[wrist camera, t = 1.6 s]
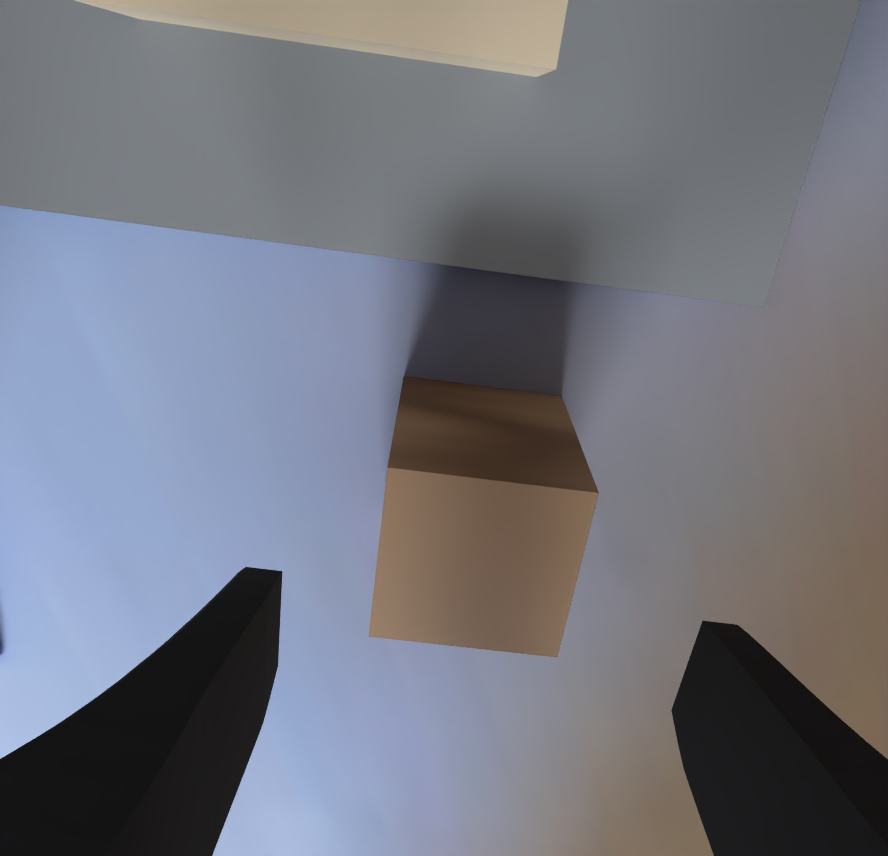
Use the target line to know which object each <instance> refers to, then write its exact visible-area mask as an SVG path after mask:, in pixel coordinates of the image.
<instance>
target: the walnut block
mask: <svg viewBox="0 0 888 856" xmlns="http://www.w3.org/2000/svg"><path fill="white" fill-rule="evenodd" d="M598 494H599V493H598V490H597V487H596V485H595V482H594V479H593V477H592V474H591V472H590V469H589V466H588V464H587V461H586V459H585V456H584V453H583V451H582V448H581V445H580V443H579V440H578V438H577V435H576V432H575V430H574V427H573V425H572V422H571V419H570V417H569V414H568V412H567V409H566V406H565V404H564V401H563V398H562V396H555V395H547V394H539V393H532V392H524V391H516V390H508V389H500V388H492V387H485V386H477V385H469V384H461V383H453V382H446V381H438V380H430V379H422V378H414V377H406V376H404V378H403V384H402V390H401V395H400V401H399V406H398V412H397V418H396V423H395V429H394V435H393V440H392V446H391V451H390V457H389V463H388V469H387V478H386V487H385V496H384V505H383V514H382V522H381V531H380V540H379V549H378V558H377V567H376V576H375V585H374V594H373V603H372V612H371V621H370V630H369V637H378V638H387V639H396V640H405V641H414V642H423V643H432V644H441V645H450V646H459V647H468V648H477V649H486V650H495V651H504V652H513V653H522V654H531V655H541V656H550V657H558V653H559V649H560V645H561V641H562V637H563V633H564V629H565V625H566V621H567V617H568V613H569V609H570V605H571V601H572V597H573V593H574V589H575V585H576V581H577V577H578V573H579V569H580V565H581V561H582V557H583V553H584V550H585V546H586V542H587V538H588V534H589V530H590V526H591V522H592V518H593V514H594V510H595V506H596V502H597V498H598Z"/></svg>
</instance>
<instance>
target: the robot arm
mask: <svg viewBox="0 0 888 856" xmlns="http://www.w3.org/2000/svg"><path fill="white" fill-rule="evenodd" d="M281 587H282V571H275V570H267V569H258V568H250V567H245V568H244V569H242V570H241V571H240V572H238V573H237V575H236V576H235V577H234V578H233V579H232V580H231V581H230V582H229V583H228V584H227V585H226V586H225V587H224V588H223V589H222V590H221V591H220V592H219V593H218V594H217V595H216V596H215V597H214V598H213V599H212V600H211V601H210V602H209V603H208V604H207V605H206V606H204V607H203V608H202V609H201V610H200V611H199V612H198V613H197V614H196V615H195V616H194V617H193V618H192V619H191V620H190V621H189V622H187V623H186V624H185V625H184V626H183V627H182V628H181V629H180V630H179V631H177V632H176V633H175V634H174V635H173V636H172V637H171V638H170V639H169V640H168V641H166V642H165V643H164V644H163V645H162V646H161V647H160V648H158V649H157V650H156V651H155V652H154V653H152V654H151V655H150V656H149V657H147V658H146V659H145V660H144V661H143V662H141V663H140V664H139V665H138V666H136V667H135V668H134V669H133V670H131V671H130V672H129V673H128V674H127V675H125V676H124V677H123V678H122V679H120V680H119V681H118V682H116V683H115V684H114V685H112V686H111V687H110V688H108V689H107V690H106V691H104V692H103V693H102V694H100V695H99V696H98V697H96V698H95V699H94V700H92V701H91V702H89V703H88V704H87V705H85V706H84V707H82V708H81V709H79V710H78V711H76V712H75V713H74V714H72V715H71V716H69V717H68V718H66V719H65V720H63V721H62V722H60V723H59V724H57V725H56V726H54V727H52V728H51V729H49V730H48V731H46V732H45V733H43V734H41V735H40V736H38V737H37V738H35V739H33V740H32V741H30V742H28V743H26V744H25V745H23V746H21V747H20V748H18V749H16V750H15V751H13V752H11V753H10V754H8V755H6V756H5V757H3V758H1V759H0V856H212V855H213V852H214V849H215V847H216V844H217V841H218V839H219V836H220V834H221V831H222V829H223V826H224V823H225V821H226V818H227V816H228V813H229V810H230V808H231V805H232V803H233V800H234V797H235V795H236V792H237V790H238V787H239V785H240V782H241V779H242V777H243V774H244V772H245V769H246V766H247V764H248V761H249V759H250V756H251V753H252V751H253V748H254V745H255V743H256V740H257V738H258V735H259V732H260V730H261V727H262V724H263V721H264V718H265V714H266V710H267V706H268V703H269V699H270V695H271V691H272V687H273V683H274V679H275V675H276V671H277V667H278V652H279V630H280V608H281ZM672 715H673V720H674V725H675V730H676V736H677V741H678V745H679V750H680V754H681V758H682V763H683V767H684V771H685V774H686V777H687V780H688V783H689V786H690V789H691V791H692V794H693V797H694V800H695V803H696V806H697V809H698V812H699V815H700V818H701V820H702V823H703V826H704V829H705V832H706V834H707V837H708V840H709V843H710V846H711V849H712V851H713V854H714V856H888V759H886V758H885V757H884V756H883V755H882V754H880V753H879V752H878V751H877V750H876V749H875V748H873V747H872V746H871V745H870V744H869V743H867V742H866V741H865V740H864V739H863V738H862V737H860V736H859V735H858V734H857V733H856V732H855V731H854V730H852V729H851V728H850V727H849V726H848V725H847V724H846V723H844V722H843V721H842V720H841V719H840V718H839V717H838V716H837V715H836V714H834V713H833V712H832V711H831V710H830V709H829V708H828V707H827V706H826V705H825V704H824V703H822V702H821V701H820V700H819V699H818V698H817V697H816V696H815V695H814V694H813V693H812V692H810V691H809V690H808V689H807V688H806V687H805V686H804V685H803V684H802V683H801V682H800V681H799V680H798V679H797V678H796V677H794V676H793V675H792V674H791V673H790V672H789V671H788V670H787V669H786V668H785V667H784V666H783V665H782V664H781V663H780V662H778V661H777V660H776V659H775V658H774V657H773V656H772V655H771V654H770V653H769V652H768V651H767V650H766V649H765V648H763V647H762V646H761V645H760V644H759V643H758V642H757V641H756V640H755V639H754V638H752V637H751V636H750V635H749V634H748V633H747V632H746V631H744V630H743V629H742V628H741V627H740V626H738V625H734V624H726V623H717V622H709V621H702V624H701V627H700V630H699V633H698V636H697V638H696V641H695V644H694V647H693V650H692V653H691V656H690V659H689V661H688V664H687V667H686V670H685V673H684V676H683V679H682V682H681V684H680V687H679V690H678V693H677V696H676V699H675V702H674V705H673V707H672Z"/></svg>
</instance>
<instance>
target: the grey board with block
mask: <svg viewBox="0 0 888 856" xmlns="http://www.w3.org/2000/svg"><path fill="white" fill-rule="evenodd" d="M860 3H861V0H0V205H2V206H9V207H16V208H24V209H31V210H39V211H46V212H54V213H61V214H69V215H76V216H84V217H91V218H99V219H106V220H113V221H121V222H128V223H136V224H143V225H151V226H158V227H166V228H173V229H181V230H188V231H196V232H203V233H210V234H218V235H225V236H233V237H240V238H248V239H255V240H263V241H270V242H278V243H285V244H293V245H300V246H307V247H315V248H322V249H330V250H337V251H345V252H352V253H360V254H367V255H375V256H382V257H390V258H397V259H404V260H412V261H419V262H427V263H434V264H442V265H449V266H457V267H464V268H472V269H479V270H487V271H494V272H501V273H509V274H516V275H524V276H531V277H539V278H546V279H554V280H561V281H569V282H576V283H584V284H591V285H598V286H606V287H613V288H621V289H628V290H636V291H643V292H651V293H658V294H666V295H673V296H681V297H688V298H695V299H703V300H710V301H718V302H725V303H733V304H740V305H748V306H755V307H764V304H765V301H766V298H767V295H768V291H769V288H770V285H771V282H772V279H773V276H774V273H775V270H776V266H777V263H778V260H779V257H780V254H781V251H782V248H783V244H784V241H785V238H786V235H787V232H788V229H789V226H790V223H791V219H792V216H793V213H794V210H795V207H796V204H797V201H798V197H799V194H800V191H801V188H802V185H803V182H804V179H805V176H806V172H807V169H808V166H809V163H810V160H811V157H812V154H813V150H814V147H815V144H816V141H817V138H818V135H819V132H820V129H821V125H822V122H823V119H824V116H825V113H826V110H827V107H828V103H829V100H830V97H831V94H832V91H833V88H834V85H835V82H836V78H837V75H838V72H839V69H840V66H841V63H842V60H843V56H844V53H845V50H846V47H847V44H848V41H849V38H850V35H851V31H852V28H853V25H854V22H855V19H856V16H857V13H858V9H859V6H860Z"/></svg>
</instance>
